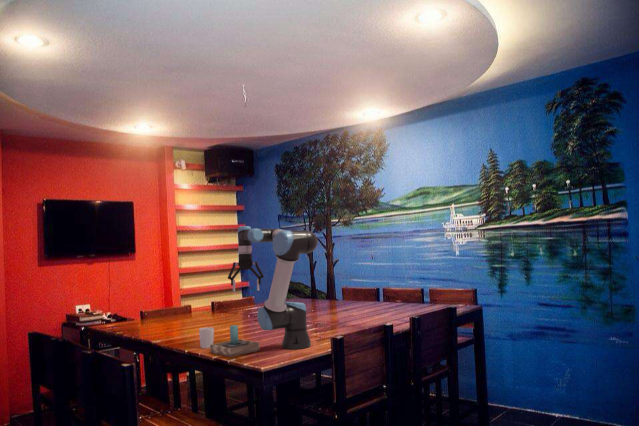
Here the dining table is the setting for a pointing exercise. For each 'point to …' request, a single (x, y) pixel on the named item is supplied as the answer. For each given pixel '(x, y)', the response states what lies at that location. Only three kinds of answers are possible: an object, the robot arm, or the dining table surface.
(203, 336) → the white cup
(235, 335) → the peg
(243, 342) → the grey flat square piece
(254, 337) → the dining table surface
